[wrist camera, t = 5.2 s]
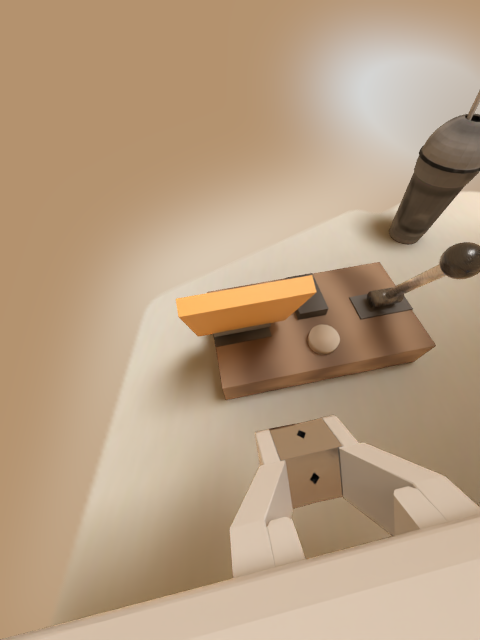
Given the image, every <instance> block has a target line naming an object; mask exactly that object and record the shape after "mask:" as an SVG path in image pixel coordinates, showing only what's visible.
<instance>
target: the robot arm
mask: <svg viewBox="0 0 480 640" xmlns="http://www.w3.org/2000/svg"><path fill="white" fill-rule="evenodd" d="M255 438H256V444H257V450H258V456H259V462H260V466H259V468H258V470H257V472H256V474H255V476H254V479H253V481H252V483H251V485H250V487H249V489H248V491H247V493H246V495H245V497H244V500H243V502H242V504H241V506H240V508H239V510H238V512H237V514H236V516H235V518H234V521H233V523H232V525H231V527H230V542H231V556H232V571H233V578H232V579H229V580H225V581H221V582H217V583H213V584H210V585H206V586H202V587H198V588H194V589H191V590H187V591H183V592H179V593H175V594H172V595H168V596H164V597H160V598H156V599H153V600H149V601H145V602H141V603H137V604H134V605H130V606H126V607H122V608H118V609H115V610H111V611H107V612H103V613H99V614H95V615H92V616H88V617H84V618H80V619H76V620H73V621H69V622H65V623H61V624H57V625H54V626H50V627H46V628H42V629H38V630H35V631H31V632H27V633H23V634H20V635H16V636H12V637H8V638H5V639H0V640H480V507H479V506H478V505H477V504H476V503H474V502H473V501H472V500H471V499H470V498H469V497H468V496H467V495H465V494H464V493H463V492H462V491H461V490H460V489H459V488H458V487H457V486H455V485H454V484H453V483H452V482H451V481H450V480H449V479H448V478H446V477H445V476H443V475H441V474H439V473H436V472H434V471H431V470H429V469H427V468H424V467H422V466H419V465H417V464H415V463H412V462H410V461H407V460H405V459H403V458H400V457H398V456H395V455H393V454H391V453H388V452H386V451H383V450H381V449H379V448H376V447H374V446H371V445H369V444H367V443H364V442H362V443H359V442H358V441H357V440H356V439H355V438H354V436H353V435H352V434H351V433H350V432H349V431H348V429H347V428H346V427H345V426H344V425H343V424H342V422H341V421H340V420H339V419H338V418H337V417H336V416H335V415H330V416H326V417H322V418H320V419H315V420H311V421H306V422H302V423H298V424H292V425H287V426H281V427H276V428H271V429H269V430H268V429H266V430H262V431H257V432H255ZM339 497H343V498H344V499H345V500H347V501H348V502H349V503H351V504H352V505H353V506H355V507H356V508H357V509H358V510H360V511H361V512H362V513H364V514H365V515H366V516H368V517H369V518H370V519H371V520H373V521H374V522H375V523H377V524H378V525H379V526H381V527H382V528H383V529H385V530H386V531H387V532H388V533H390V534H391V535H392V537H388V538H384V539H381V540H377V541H373V542H369V543H365V544H362V545H358V546H354V547H350V548H346V549H343V550H339V551H335V552H331V553H327V554H324V555H320V556H316V557H312V558H308V559H306V558H305V555H304V552H303V549H302V546H301V543H300V541H299V538H298V535H297V532H296V529H295V526H294V523H293V520H292V519H291V518H292V513H293V509H295V508H298V507H302V506H305V505H309V504H312V503H316V502H320V501H325V500H330V499H334V498H339Z"/></svg>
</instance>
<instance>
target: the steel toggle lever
mask: <svg viewBox="0 0 480 640" xmlns="http://www.w3.org/2000/svg"><path fill="white" fill-rule="evenodd" d="M479 272H480V246H479V245H477V244H475V243H470V242H464V243H458V244H455V245H453V246H451V247H450V248H448V249H447V250H446V251H445V252H444V253H443V254H442V256H441V258H440V265H438V266H436V267H434V268H432V269H430V270H428V271H425V272H423V273H421V274H419V275H417V276H415V277H413V278H411V279H409V280H407V281H405V282H403V283H401V284H399V285H397V286H395V287H390V288H385V289H379V290H374V291H369V292H368V294H367V301H368V304H369V305H370V306H371V307H378V306H384V305H389V304H395V303H400V302H402V300H403V298H404V293H407V292H409V291H411V290H414V289H416V288H418V287H421V286H423V285H425V284H428V283H430V282H432V281H435V280H437V279H439V278H442V277H444V276H448V277H450V278H454V279H466V278H470V277H472V276H475V275H476V274H478V273H479Z"/></svg>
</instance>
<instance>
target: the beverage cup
mask: <svg viewBox="0 0 480 640" xmlns="http://www.w3.org/2000/svg"><path fill="white" fill-rule="evenodd" d="M479 102H480V91H479V93H478V95H477V97H476V99H475V101H474V103H473V105H472V107H471V109H470V112H469V114H466V115H462V116H458V117H455V118H453V119H451V120H450V121H448V122H446V123H445V124H443V125H442V126H440V127H439V128H438V129H437V130H436V131H435V132H434V133H433V134H432V135H431V136H430V137H429V139H428V140H427V142H426V143H425V145H424V146H423V147H422V148H421V149H420V152H419V157H418V159H417V162H416V166H415V168H414V174H413V176H412V178H411V180H410V183H409V185H408V187H407V190H406V192H405V194H404V197H403V199H402V201H401V204H400V206H399V208H398V211H397V213H396V215H395V217H394V220H393V222H392V226H391V228H390V230H389V234H390V236H391V237H392V238H393V239H394V240H395V241H397V242H400V243H403V244H413V243H416V242H417V241H418V240H419V239H420V238H421V237H422V236H423V234H425V233H426V232H427V230H428V229H429V228H430V227H431V226H432V224H433V223H434V222H435V221H436V220H437V218H438V217H439V216H440V215H441V214H442V212H443V211H444V210H445V209H446V208H447V206H448V205H449V204H450V203H451V202H452V200H453V199H454V198H455V197H456V196H457V195H458V193H459V192H460V191H461V190H462V189H463V187H464V186H465V185H466V184H467V183H469V181H471V180H472V179H473V178H474V177H475V176H476V175H477V174H478V173H479V171H480V115H479V114H474V112H475V110H476V108H477V106H478V104H479Z"/></svg>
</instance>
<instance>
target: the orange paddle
mask: <svg viewBox="0 0 480 640" xmlns="http://www.w3.org/2000/svg"><path fill="white" fill-rule="evenodd" d="M315 293H316V288H315V284H314V280H313V276H312V275H309V276H304V277H298V278H292V279H287V280H281V281H275V282H269V283H264V284H258V285H252V286H246V287H241V288H235V289H229V290H224V291H218V292H212V293H206V294H201V295H195V296H189V297H184V298H178V299H176V303H177V309H178V316H179V318H180V319H181V320H182V321H183V322H184V323H185V324H186V325H187V326H188V327H189V328H190V329H191V330H192V331H193V332H194V333H195V334H196V335H197V336H204V335H209V334H213V336H214V337H218V336H224V335H229V334H234V333H240V332H245V331H250V330H256V329H261V328H266V327H271V323H274V322H279V321H284V320H286V319H287V318H288V317H289V316H290V315H291V314H293V313H294V312H295V311H296V310H297V309H298V308H299V307H300V306H302V305H303V304H304V303H305V302H306V301H307V300H308V299H309V298H311V297H312V296H313V295H314V294H315Z"/></svg>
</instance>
